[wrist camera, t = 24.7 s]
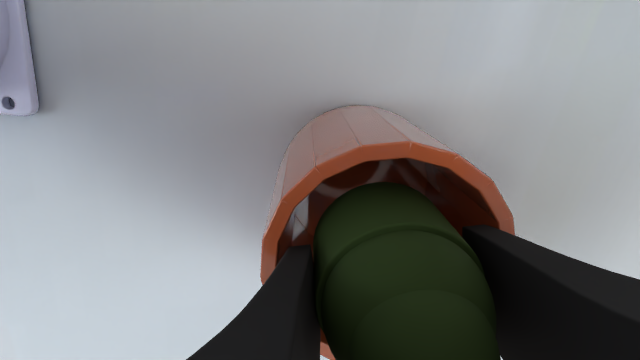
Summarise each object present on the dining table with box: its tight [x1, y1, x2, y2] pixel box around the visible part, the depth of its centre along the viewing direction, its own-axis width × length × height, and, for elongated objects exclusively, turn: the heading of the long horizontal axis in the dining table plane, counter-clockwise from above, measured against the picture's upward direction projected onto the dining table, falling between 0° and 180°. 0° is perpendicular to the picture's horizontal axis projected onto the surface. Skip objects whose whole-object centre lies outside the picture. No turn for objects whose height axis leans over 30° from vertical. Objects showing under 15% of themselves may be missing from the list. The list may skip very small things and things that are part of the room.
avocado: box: [313, 182, 501, 360], centre depth 9 cm, size 4×4×6 cm
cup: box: [260, 105, 515, 360], centre depth 14 cm, size 7×7×8 cm
